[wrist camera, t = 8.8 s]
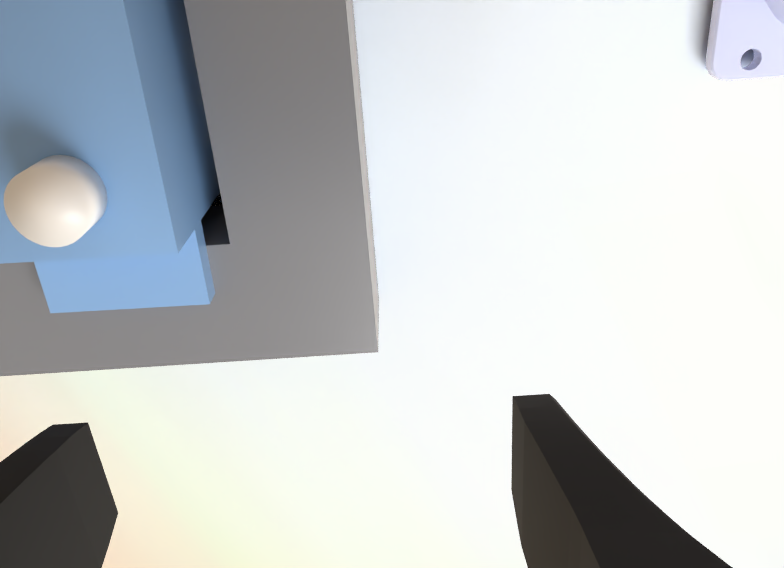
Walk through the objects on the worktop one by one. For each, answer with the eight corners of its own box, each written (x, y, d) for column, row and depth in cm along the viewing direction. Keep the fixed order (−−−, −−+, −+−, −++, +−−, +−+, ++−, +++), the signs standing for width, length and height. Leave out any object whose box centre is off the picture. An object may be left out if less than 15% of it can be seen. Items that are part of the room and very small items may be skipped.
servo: (168, -152, 16) (53, -206, 10) (237, 246, 20) (184, 356, 15) (-4, -141, 16) (-207, -188, 10) (104, 254, 20) (1, 366, 15)
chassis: (328, -272, 15) (315, -322, 12) (379, 299, 21) (378, 352, 18) (-214, -226, 15) (-346, -264, 12) (-4, 325, 21) (-62, 380, 18)
